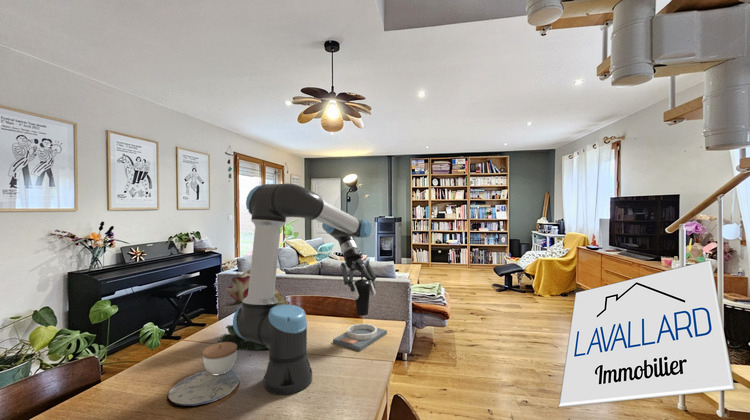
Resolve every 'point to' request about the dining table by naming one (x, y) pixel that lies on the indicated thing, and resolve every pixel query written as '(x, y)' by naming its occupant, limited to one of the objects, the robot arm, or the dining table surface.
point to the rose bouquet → (239, 293)
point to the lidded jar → (219, 357)
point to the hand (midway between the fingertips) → (365, 296)
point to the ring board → (360, 342)
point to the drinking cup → (362, 295)
